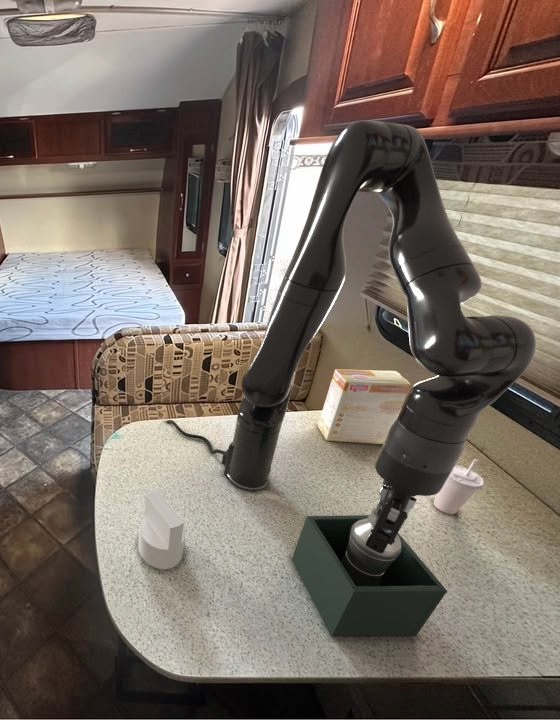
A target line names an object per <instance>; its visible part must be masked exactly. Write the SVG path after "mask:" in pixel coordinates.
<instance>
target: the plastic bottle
mask: <svg viewBox="0 0 560 720" xmlns="http://www.w3.org/2000/svg"><path fill="white" fill-rule="evenodd" d="M375 508H376V507H374V508H373V509H372V510H371V512H370V513H369V514H368V515H369V516H368V518H367V519H362V520H359V521H357V522H356V523H355V524H353V526H352V527H351V531H350V538H349V544H348V547H347V550H346V553H345V555H344V557H343V558H342V560H341V564H342V565H343V567H344V568H345V570H346V571H347V573H348V574H349V576H350V578H351V579H352V581H353V582H354V584H355V585H356V587H357V586H379V585H380V582H381V579H382V576H383V574H384V572H385V571H386V570H387V568H388V566H389V565H390V564H391V563H392V562H393V561H394V560H395V559H396V558H397V557H398V556H399V554H400V553H401V541H400V538H399V536H398V534H397V536H396V538H395V539H394V540H395V542H394V543H392V545H390V544H388V545H387V547H386V549H385V550H384V552H383V553H378V552H376V551H374V550H372V549H371V548H369V547H367V546H366V541H367V539H368V537H369V535H370V533H371V532H370V531H371V529H372V527H371V526H372V524H373V525H374V522H375V520H376V517H377V515H376V514H375V512H374V510H375ZM381 510H382V507H381Z"/></svg>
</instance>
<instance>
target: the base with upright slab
mask: <svg viewBox="0 0 560 720" xmlns="http://www.w3.org/2000/svg"><path fill="white" fill-rule="evenodd" d="M144 498H145V499H144V515H143V516H142V517H141V519H140V522H139V527H138V552H139V554H140V556H141V558H142V559H143V561H144V562H145V563H146V564H148V565H149V566H150V567H153V568H155V569H159V570H169V569H173V568H175V567H176V566H178V565H179V564H180V562H181V561H182V559H183V556H184V548H185V542H186V541H185V540H186V529H185V526H184V525H185V521H184V520H183V519H182V518H181V516H180V515H179V514H178V513H177V511H176V510H175V509H174V508H173V506H172V505H171V504H170V503H169V501H168V500H167V499H166V498H165V497H164V495H163V494H162V493H161V492H160V491H159V490H158V489H155V490H152V491H150V492H148V493H146V494H145V496H144Z"/></svg>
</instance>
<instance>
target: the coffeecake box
mask: <svg viewBox="0 0 560 720" xmlns="http://www.w3.org/2000/svg"><path fill="white" fill-rule="evenodd" d="M411 386H412V384H411V383H410V382H409V381H408V380H407V379H406V378H405V377H403V376H402V374H401V373H399V372H398V371H397V370H375V369H374V370H373V369H371V370H370V369H369V370H368V369H346V368H345V369H344V368H342V369H340V368H335V369H334V372H333V375H332V379H331V381H330V385H329V389H328V391H327V395H326V398H325V401H324V404H323V407H322V411H321V414H320V417H319V421H318V424H317V427H318V429H319V431H320V432H321V433H322V435H323V438H324V439H325V441H328V442H331V441H332V442H345V443H346V442H347V443H348V442H349V443H359V444H360V443H361V444H374V445H383V444H384V441H385V439H386V437H387V434H388V432H389V430H390V428H391V426H392V425H393V423H394V422H395V420H396V419H397V417H398V415H399V413H400V411H401V408H402V406H403V404H404V401H405V399H406V397H407V395H408V393H409V391H410V389H411V388H410V387H411Z"/></svg>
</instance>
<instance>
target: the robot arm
mask: <svg viewBox="0 0 560 720" xmlns="http://www.w3.org/2000/svg"><path fill="white" fill-rule="evenodd" d="M439 188H440V187H439V185H438V182H437V179H436V175H435V171H434V168H433V164H432V160H431V156H430V152H429V150H428V146H427V143H426V140H425V138H424V136H423V135H422V133H421V132H420V130H419V129H418V128H416V127H414V126H412V125H409V124H403V123H397V122H396V123H395V122H389V121H388V122H387V121H378V120H369V119H362V120H356V121H354V122H352V123H350V124H349V125H347V126H346V127H345V128H344V129H342V131H341V132H340V133H339V134H338V135H337V136H336V138H335V140H334V141H333V143H332V145H331V146H330V149H329V151H328V153H327V155H326V157H325V159H324V162H323V165H322V168H321V171H320V174H319V178H318V181H317V185H316V187H315V191H314V194H313V197H312V201H311V204H310V207H309V211H308V214H307V218H306V221H305V222H304V223H305V224H304V227H303V229H302V232H301V234H300V237H299V240H298V242H297V245H296V247H295V249H294V250H295V251H294V253H293V255H292V257H291V260H290V263H289V265H288V267H287V269H286V271H285V273H284V276H283V278H282V280H281V283H280V286H279V288H278V291H277V293H276V296H275V299H274V303H273V305H272V308H271V310H270V315H269V318H268V320H267V324H266V329H265V331H264V335H263V337H262V341H261V343H260V346H259V348H258V350H257V352H256V354H255V356H254V357H253V360H252V361H251V363H250V365H249V366H248V367H247V369H246V370H245V372H244V374H243V376H242V378H241V391H242V394H243V396H242V400H241V401H240V403H239V407H238V410H237V411H238V412H237V417H236V423H235V428H234V433H233V438H232V442H231V443H230V444H228V448H227V449H226V451H225V450H222V449H218V448H215V449H214V448H213V446H212V444H211V442H210V440H209V439H207V437H205V436H202V435H199V434H191V433H188V432H186V431H184V430H183V429H182V428H181V427H180V426H179V425H178V424H177V423H176V422H175V421H174V420H172V419H168V420H166V421H165V423H166V424H171V425H173V426H174V428H175V429H176V430H177V431H178V432H179V434H181V435H182V436H184V437H187V438H191V439H198V440H202V441H204V442H205V443H206V445H207V448H208V450H209V452H210V453H211V454H212V455H213V454H214V455H215V454H220V455H222V458H221V465H223V466H224V471H223V475H224V476H225V477H227V479H228V481H230V482H231V484H233V485H234V486H235V487H237V488H239V489H241V490H244V491H248V492H259V491H261V490H263V489H265V488H266V487H267V485H268V481H269V477H270V475H271V471H272V470H271V469H272V463H273V460H274V456H275V452H276V449H277V445H278V441H279V437H280V433H281V429H282V426H283V422H284V419H285V416H286V413H287V410H288V405H289V403H290V398H291V394H292V391H293V387H294V383H295V379H296V370H297V367H298V364H299V362H300V360H301V358H302V356H303V354H304V352H305V350H306V349H307V347H308V346H309V344H310V343H311V342H312V341H313V338H314V337H315V336H316V334H317V333H318V331H319V329H320V328H321V326H322V324H323V323H324V321H325V320H326V318H327V316H328V314H329V313H330V311H331V309H332V307H333V305H334V304H335V301H336V300H337V298H338V295H339V293H340V291H341V289H342V287H343V286H344V284H345V280H346V276H347V258H346V250H345V244H344V243H345V242H344V232H345V231H344V230H345V225H346V221H347V217H348V216H349V213H350V210H351V208H352V205H353V203H354V201H355V198H356V197H357V194H358V193H360V192H361V193H372V194H374V193H375V194H377V195H378V196H379V197H380V199H381V200H382V201H383V202H384V204H385V205H386V207H387V208H388V210H389V212H390V215H391V217H392V227H391V233H390V236H389V242H388V259H389V263H390V267H391V269H392V272H393V275H394V276H395V279H396V281H397V283H398V285H399V287H400V289H401V291H402V293H403V296H404V297H405V300H406V306H407V322H408V323H407V324H408V337H409V346H410V350H411V353H412V356H413V357H414V359H415V360H416V361H417V362H418V364H419V365H420V366H421V367H422V368H423V369H425V370H426V371H427V372H429V373H431V374H433V375H436V376H435V377H432V378H428V379H426V380H423V381H418V382H417V383H415V384H414V385H413V386H412V387H411V388H410V389H409V390H408V392H407V395H406V397H405V399H404V402H403V404H402V406H401V409H400V411H399V413H398V416H397V418H396V420H395V422H394V423H393V425H392V426H391V428H390V430H389V432H388V434H387V437H386V439H385V441H384V444H382V446H381V448H380V451H379V453H378V455H377V458H376V460H375V462H374V468H375V471H376V473H377V474H378V476H379V477H380V478H381V479H382V480H383V481H382V485H381V488H380V490H379V494H378V495H379V498H378V501H377V503H376V505H375V507H374V508H375V510H374V512H375V514H376V515H377V517H376V520H375V522H374V525H373V524H372V526H371V527H372V529H371V531H370V532H371V533H370V535H369V537H368V539H367V541H366V546H367V547H369V548H371V549H372V550H374V551H376V552H378V553H383V552H384V550H385V549H386V547H387V545H388V544H390V545H392V543H394V542H395V540H394V539H395V538H396V536H397V534H398V533H399V532H400V530H401V528H402V526H404V525H405V523H406V521H407V519H408V515H409V513H410V511H411V510H412V509H414V507H415V505H416V503H417V500H418V498H417V496H420V497H421V496H422V497H429V496H430V497H431V496H436V494H437V493H439V492H440V491H441V489H442V487H443V485H444V484H445V482H446V480H447V478H448V477H449V475H450V473H451V471H452V470H453V468H454V466H455V465H457V463H458V461H459V460H460V457H461V456H462V453H463V451H464V447H465V444H466V441H467V439H468V438H469V436H470V435H471V432H472V431H473V429H474V427H475V425H476V423H477V421H478V419H479V417H480V415H481V414H482V413H483V411H485V410H486V409H487V408H488V407H490V406H491V405H492V404H493V403H495V401H497V400H498V399H499V398H500V397H501V396H502V395H503V394H504V393H505V392H506V391H507V390H508V389H509V388H511V386H513V385H514V384H515V383H516V382H517V381H518V379H519V378H521V376H522V375H523V374H524V373H525V372H526V370H527V369H528V367H529V366H530V365H531V363H532V361H533V359H534V356H535V354H536V349H537V341H536V340H537V339H536V335H535V333H534V331H533V329H532V327H530V325H529V324H528V323H527V322H525V321H524V320H522V319H520V318H517V317H514V316H511V315H510V316H509V315H500V314H498V315H496V314H495V315H494V314H492V315H475V316H473V315H472V316H465V314H464V313H463V309H462V305H461V304H464V303H466V302H468V301H469V300H472V299H473V298H474V297H475V296H477V295H478V294H479V293H480V291H481V290H482V287H483V286H482V284H483V282H482V278H481V276H480V274H479V272H478V270H477V268H476V266H475V265H474V263H473V261H472V259H471V257H470V256H469V253H468V252H467V250H466V249H465V247H464V245H463V243H462V242H461V240H460V239H459V237H458V234H457V233H456V231H455V229H454V227H453V226H452V223H451V221H450V219H449V216H448V213H447V211H446V208H445V205H444V202H443V200H442V195H441V192H440V189H439ZM381 507H382V510H381Z"/></svg>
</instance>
